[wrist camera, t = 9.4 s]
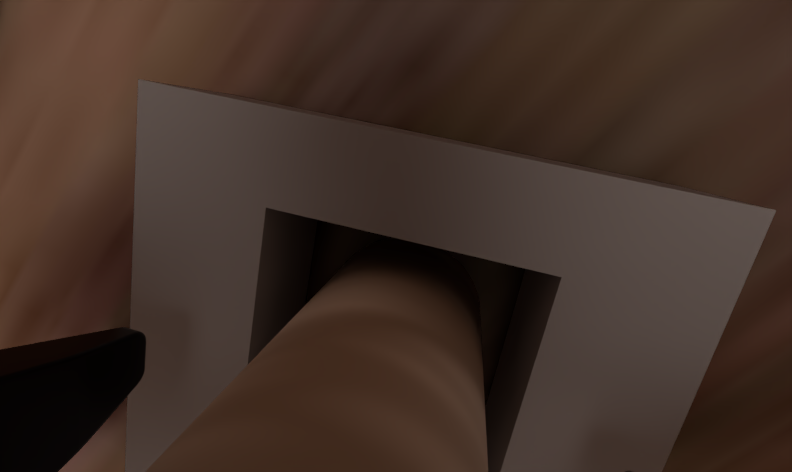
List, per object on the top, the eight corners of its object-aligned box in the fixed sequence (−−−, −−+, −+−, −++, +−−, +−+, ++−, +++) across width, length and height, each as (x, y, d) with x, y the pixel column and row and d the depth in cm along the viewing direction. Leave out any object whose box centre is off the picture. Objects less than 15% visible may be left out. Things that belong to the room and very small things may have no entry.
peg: (497, 258, 12) (614, 806, 2) (459, 393, 13) (427, 1140, 3) (345, 221, 12) (-101, 539, 3) (321, 355, 13) (-50, 910, 4)
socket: (679, 186, 11) (776, 210, 7) (496, 680, 15) (503, 834, 12) (231, 94, 12) (138, 79, 9) (189, 572, 17) (118, 683, 13)
